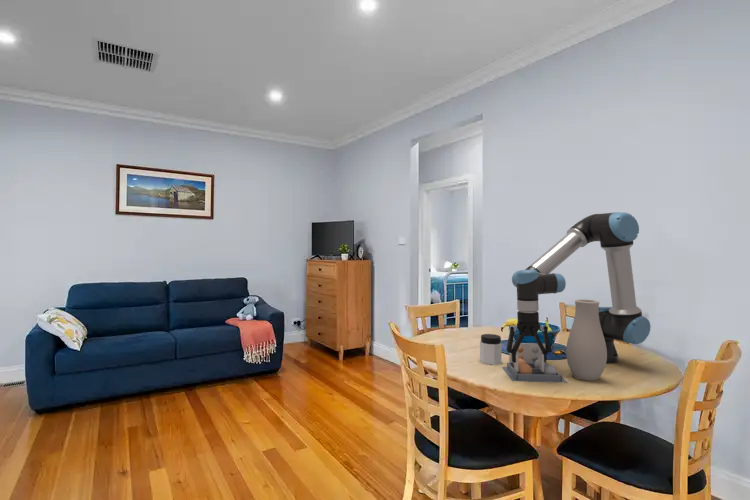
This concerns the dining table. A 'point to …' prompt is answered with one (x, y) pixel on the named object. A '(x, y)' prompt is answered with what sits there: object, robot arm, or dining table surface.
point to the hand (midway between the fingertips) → (529, 370)
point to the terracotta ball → (520, 362)
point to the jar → (490, 349)
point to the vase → (586, 342)
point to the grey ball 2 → (549, 370)
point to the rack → (530, 355)
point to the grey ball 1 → (538, 364)
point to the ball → (525, 369)
